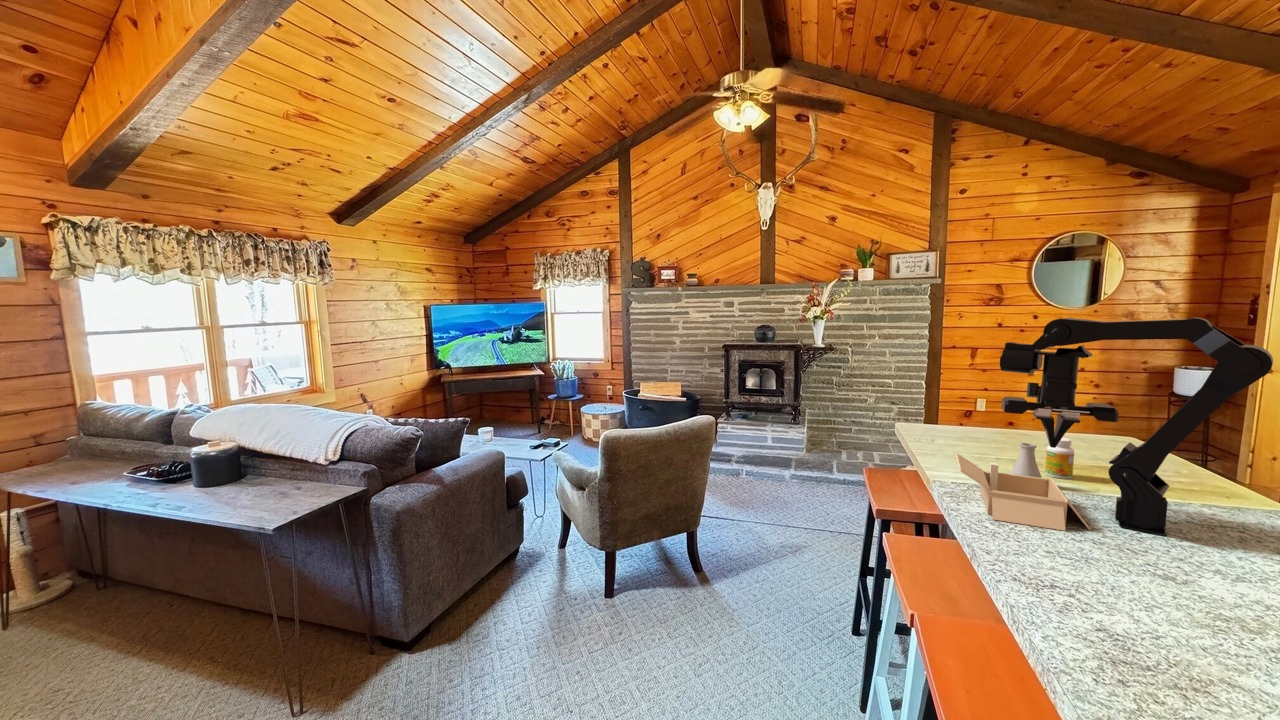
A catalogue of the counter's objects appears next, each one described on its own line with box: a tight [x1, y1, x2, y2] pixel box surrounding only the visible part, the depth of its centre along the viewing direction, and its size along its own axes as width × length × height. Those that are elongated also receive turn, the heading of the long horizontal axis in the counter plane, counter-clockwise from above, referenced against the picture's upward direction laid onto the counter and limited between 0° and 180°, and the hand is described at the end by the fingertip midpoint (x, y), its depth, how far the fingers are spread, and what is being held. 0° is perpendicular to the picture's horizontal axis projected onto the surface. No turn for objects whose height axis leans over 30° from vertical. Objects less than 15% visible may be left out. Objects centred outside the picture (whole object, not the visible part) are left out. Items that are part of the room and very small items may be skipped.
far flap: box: [955, 452, 990, 490], centre depth 111 cm, size 1×14×6 cm
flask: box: [1008, 442, 1043, 478], centre depth 121 cm, size 7×7×10 cm
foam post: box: [989, 462, 999, 491], centre depth 115 cm, size 1×1×7 cm
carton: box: [979, 470, 1091, 532], centre depth 107 cm, size 17×20×5 cm
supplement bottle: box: [1044, 436, 1075, 480], centre depth 126 cm, size 5×5×10 cm
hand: (1052, 447), depth 108 cm, fingers closed
